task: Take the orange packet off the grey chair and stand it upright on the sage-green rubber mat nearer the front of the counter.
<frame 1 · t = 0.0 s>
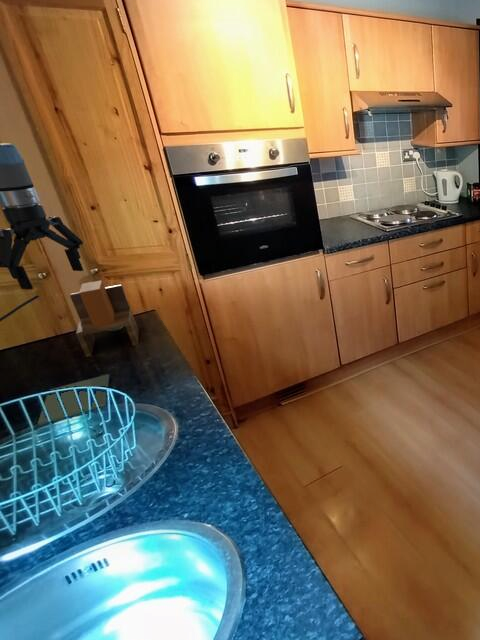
hand: (54, 279, 127), 22 cm above the worktop, tool pointing down, fingers open, 13 cm apart
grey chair: (113, 342, 139), on the worktop
beer can: (115, 329, 147), on the worktop
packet: (104, 319, 136), point 8 cm above the worktop, touching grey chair
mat: (76, 398, 114), on the worktop
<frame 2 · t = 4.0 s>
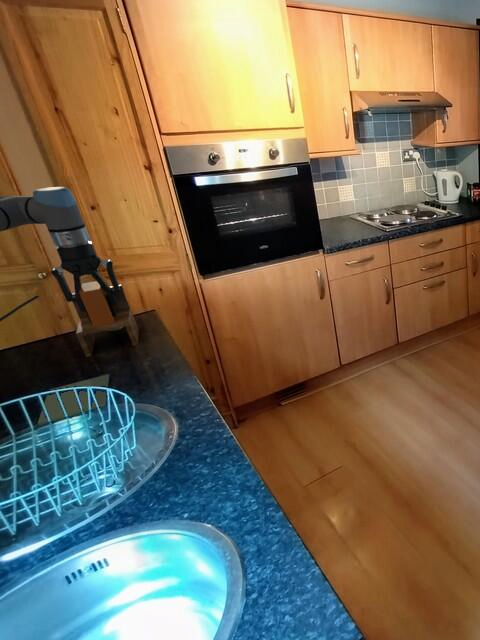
hand: (103, 317, 135), 9 cm above the worktop, tool pointing down, fingers closed on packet, 4 cm apart
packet: (104, 319, 136), point 8 cm above the worktop, touching gripper, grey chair
everything else where it was.
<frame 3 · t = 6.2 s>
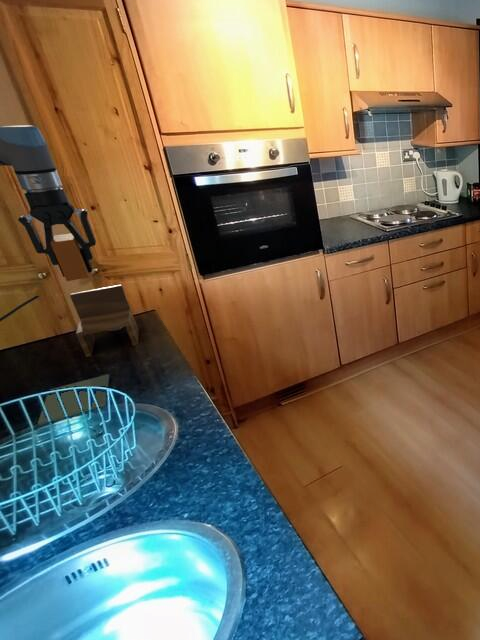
hand: (78, 272, 126), 25 cm above the worktop, tool pointing down, fingers closed on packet, 4 cm apart
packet: (79, 275, 126), point 24 cm above the worktop, touching gripper
everything else where it was.
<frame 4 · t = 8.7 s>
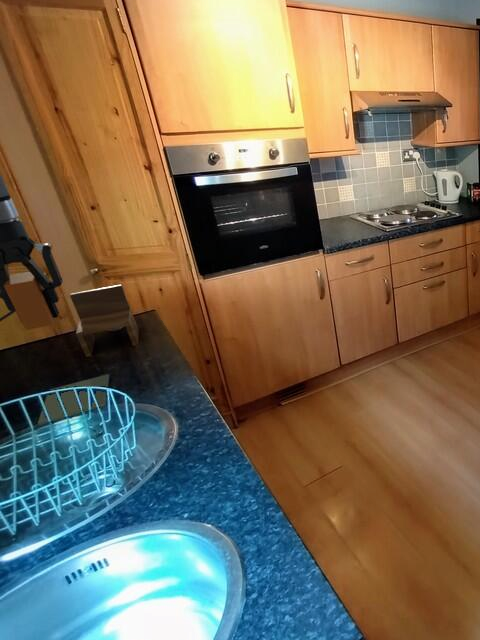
hand: (41, 318, 105), 23 cm above the worktop, tool pointing down, fingers closed on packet, 4 cm apart
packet: (42, 320, 105), point 22 cm above the worktop, touching gripper
everything else where it was.
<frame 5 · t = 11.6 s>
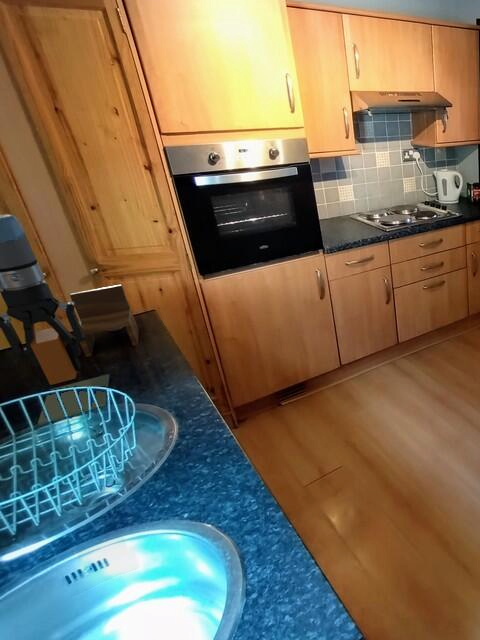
hand: (64, 371, 110), 8 cm above the worktop, tool pointing down, fingers closed on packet, 4 cm apart
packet: (65, 374, 111), point 7 cm above the worktop, touching gripper
everything else where it was.
when the fingers open (1 cm above the worktop, at t = 13.5 s): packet stays where it is, resting on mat.
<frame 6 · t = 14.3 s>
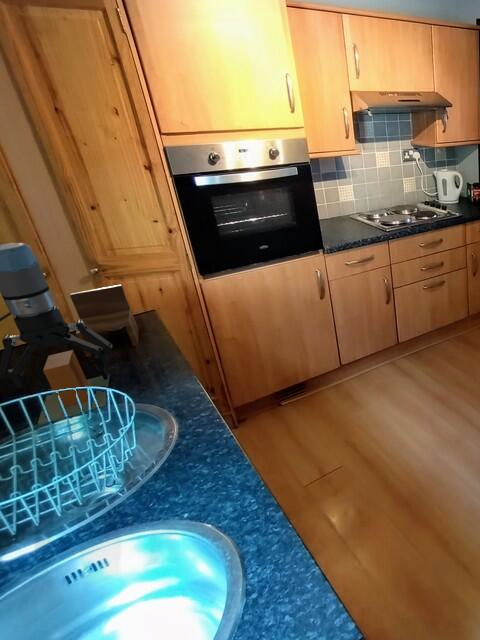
hand: (71, 386, 112), 4 cm above the worktop, tool pointing down, fingers open, 13 cm apart
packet: (76, 396, 113), point 1 cm above the worktop, touching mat
everything else where it was.
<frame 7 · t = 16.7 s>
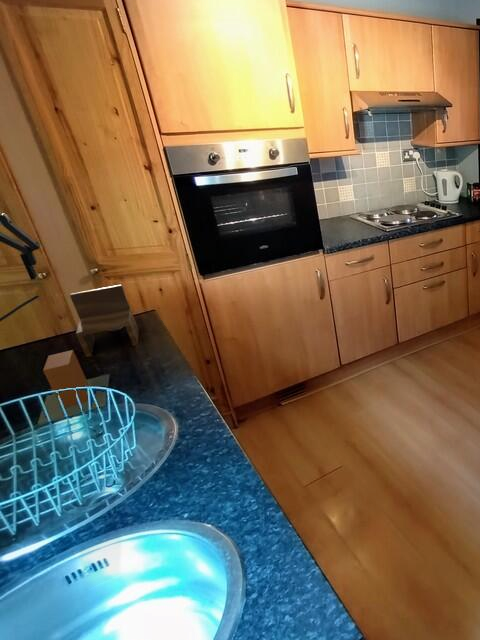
nothing on the worktop moved.
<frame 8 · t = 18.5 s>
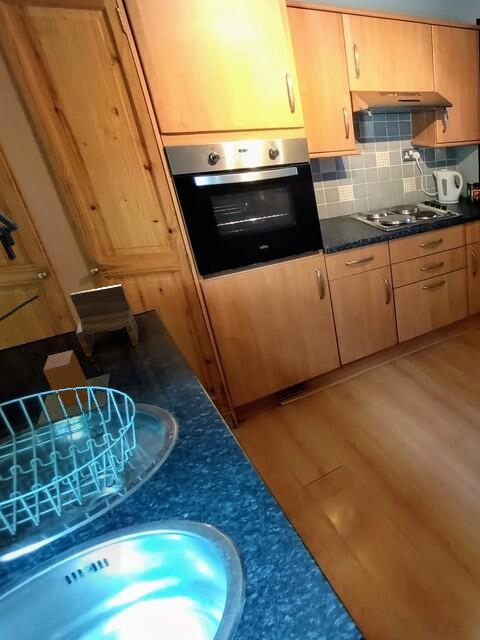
nothing on the worktop moved.
at the end: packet inside the target area on the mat (0.1 cm from its centre), point 0.6 cm above the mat's base; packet tilted 0°; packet touching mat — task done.
